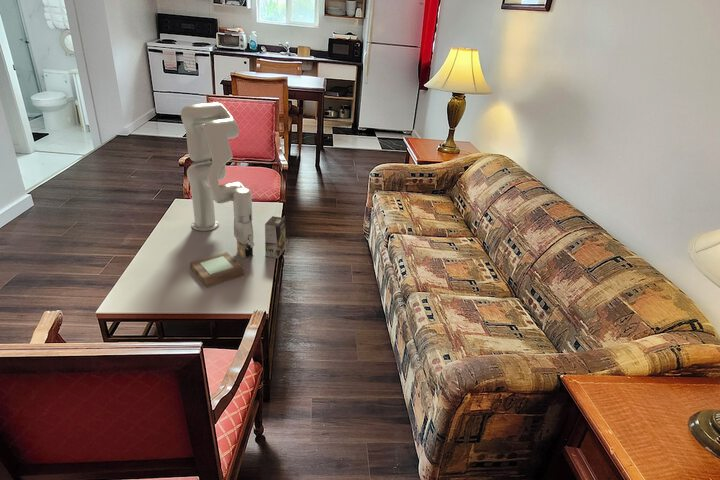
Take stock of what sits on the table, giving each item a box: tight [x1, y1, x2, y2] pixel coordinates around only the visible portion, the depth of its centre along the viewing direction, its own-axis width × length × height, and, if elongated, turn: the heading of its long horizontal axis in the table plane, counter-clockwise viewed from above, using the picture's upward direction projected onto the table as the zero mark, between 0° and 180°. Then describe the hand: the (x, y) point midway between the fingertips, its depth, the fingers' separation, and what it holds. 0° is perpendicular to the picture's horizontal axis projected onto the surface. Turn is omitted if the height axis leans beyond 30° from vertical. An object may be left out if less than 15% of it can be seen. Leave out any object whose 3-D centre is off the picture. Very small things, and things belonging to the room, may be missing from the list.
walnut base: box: [189, 251, 245, 288], centre depth 176 cm, size 16×16×3 cm
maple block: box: [236, 240, 250, 259], centre depth 190 cm, size 5×5×6 cm
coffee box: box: [264, 216, 286, 259], centre depth 191 cm, size 9×6×16 cm
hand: (245, 251), depth 191 cm, fingers open, 7 cm apart
